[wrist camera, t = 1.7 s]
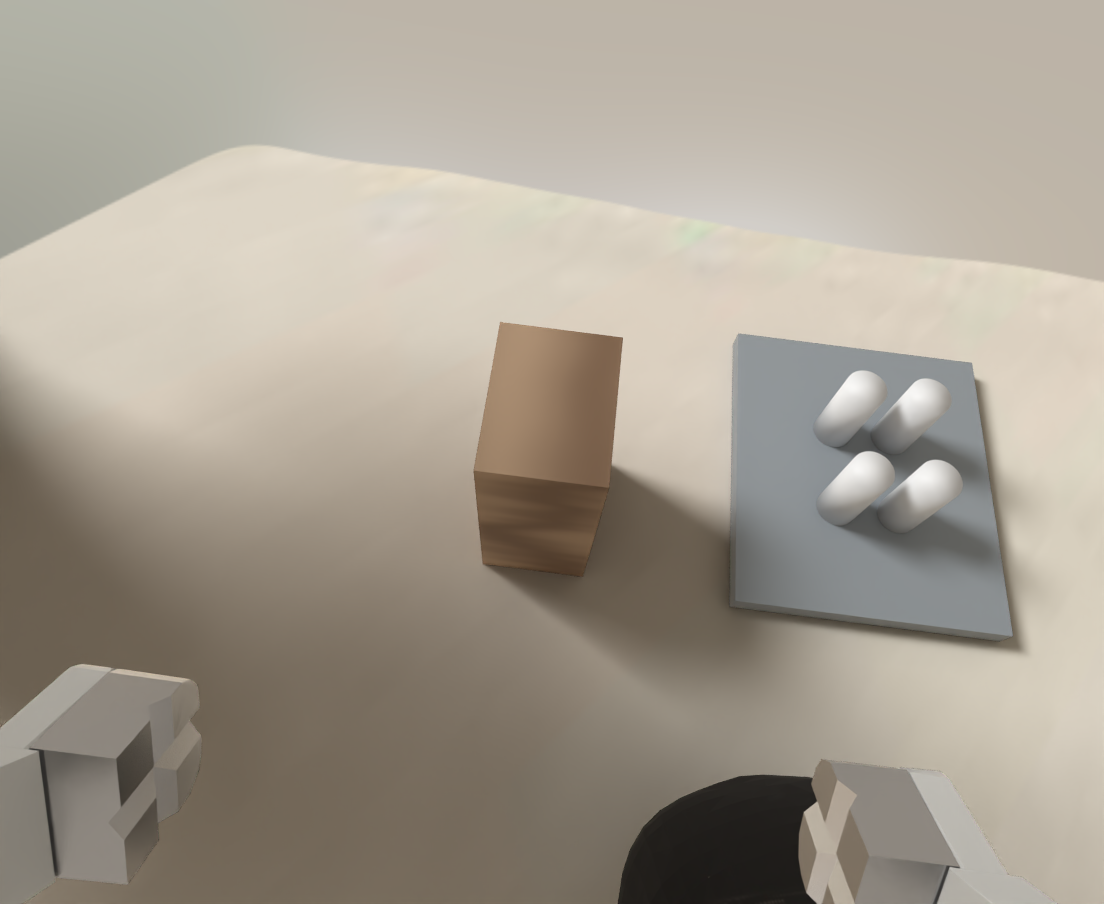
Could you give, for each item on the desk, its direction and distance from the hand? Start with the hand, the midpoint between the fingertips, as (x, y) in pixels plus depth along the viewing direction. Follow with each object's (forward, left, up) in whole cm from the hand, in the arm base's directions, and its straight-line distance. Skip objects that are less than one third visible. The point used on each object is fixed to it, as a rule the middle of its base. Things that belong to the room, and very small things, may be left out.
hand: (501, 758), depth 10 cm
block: (-2, +12, -22) cm, 26 cm away
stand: (+12, +18, -22) cm, 31 cm away
